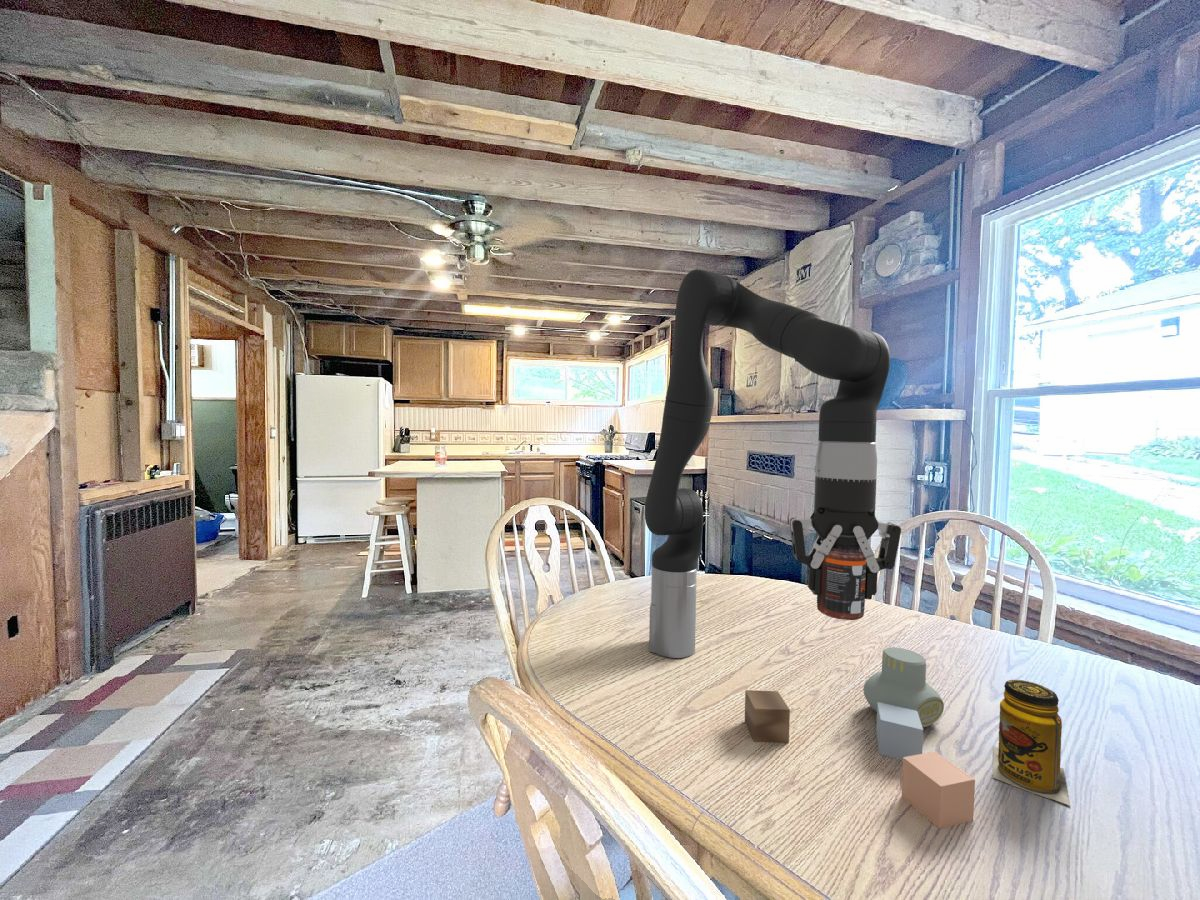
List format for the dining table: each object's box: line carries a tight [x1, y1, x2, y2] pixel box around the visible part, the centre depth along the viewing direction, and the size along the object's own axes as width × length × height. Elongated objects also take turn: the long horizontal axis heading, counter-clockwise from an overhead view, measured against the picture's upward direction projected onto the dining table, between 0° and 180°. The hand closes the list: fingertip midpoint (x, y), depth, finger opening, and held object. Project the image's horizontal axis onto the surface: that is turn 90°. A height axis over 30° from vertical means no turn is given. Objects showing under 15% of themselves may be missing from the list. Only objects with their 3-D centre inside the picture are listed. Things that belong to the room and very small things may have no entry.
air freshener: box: [863, 646, 945, 728], centre depth 76 cm, size 11×8×10 cm
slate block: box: [875, 702, 924, 761], centre depth 68 cm, size 5×5×5 cm
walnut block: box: [744, 689, 791, 744], centre depth 71 cm, size 5×5×5 cm
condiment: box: [992, 679, 1071, 807], centre depth 63 cm, size 7×8×12 cm
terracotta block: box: [901, 750, 976, 829], centre depth 57 cm, size 5×5×5 cm
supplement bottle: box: [816, 535, 866, 621], centre depth 66 cm, size 6×6×11 cm
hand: (840, 594), depth 66 cm, fingers closed on supplement bottle, 6 cm apart
